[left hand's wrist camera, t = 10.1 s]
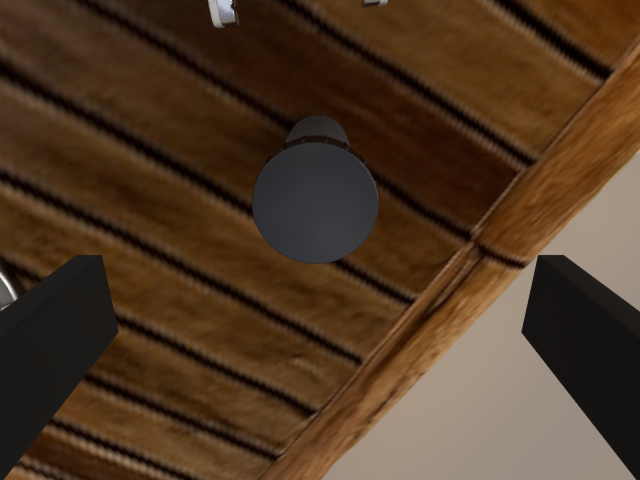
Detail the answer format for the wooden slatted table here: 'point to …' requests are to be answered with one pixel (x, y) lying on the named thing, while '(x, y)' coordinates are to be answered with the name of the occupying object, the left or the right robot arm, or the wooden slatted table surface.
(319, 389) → the wooden slatted table surface
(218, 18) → the right robot arm
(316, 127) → the jar
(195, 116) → the wooden slatted table surface
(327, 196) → the lid
